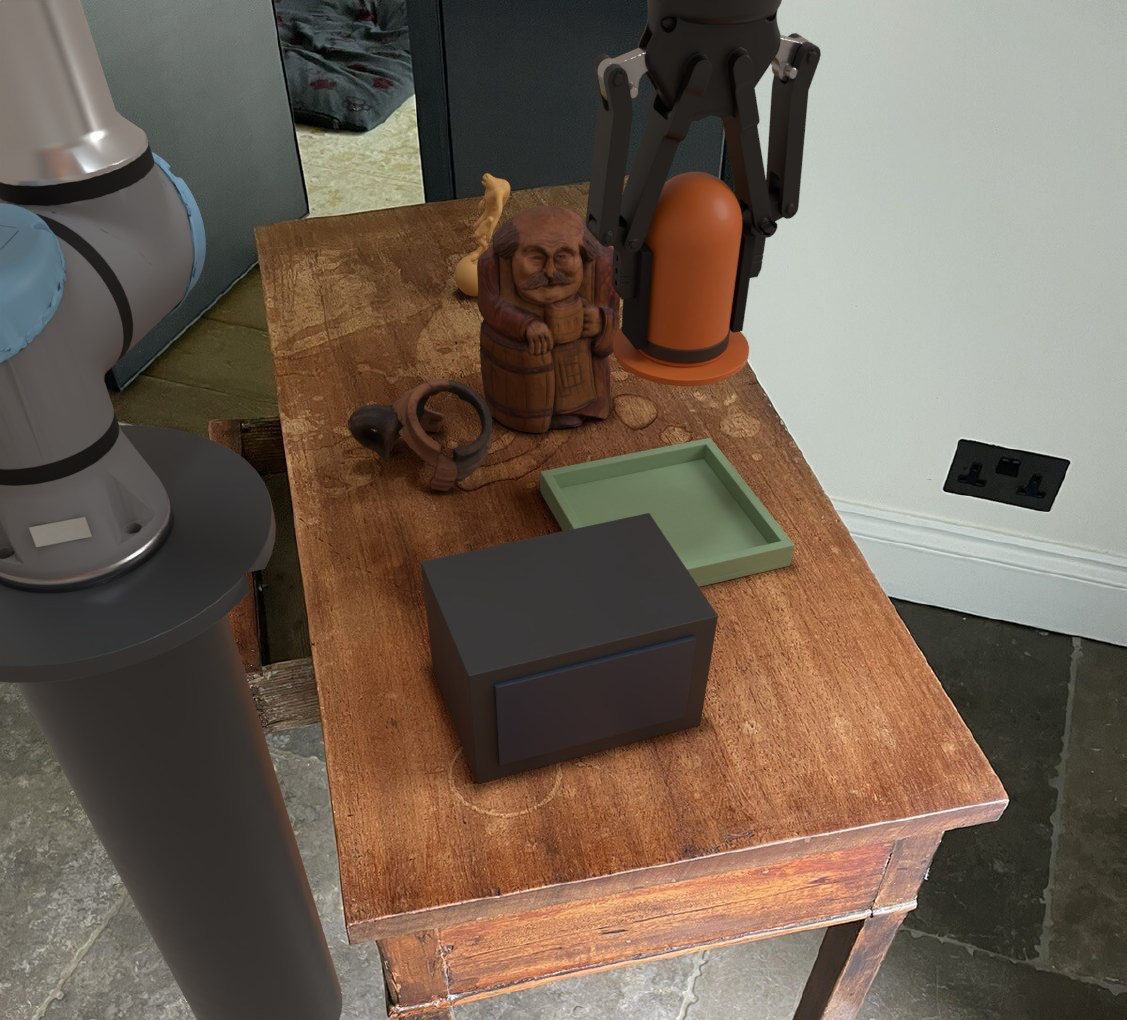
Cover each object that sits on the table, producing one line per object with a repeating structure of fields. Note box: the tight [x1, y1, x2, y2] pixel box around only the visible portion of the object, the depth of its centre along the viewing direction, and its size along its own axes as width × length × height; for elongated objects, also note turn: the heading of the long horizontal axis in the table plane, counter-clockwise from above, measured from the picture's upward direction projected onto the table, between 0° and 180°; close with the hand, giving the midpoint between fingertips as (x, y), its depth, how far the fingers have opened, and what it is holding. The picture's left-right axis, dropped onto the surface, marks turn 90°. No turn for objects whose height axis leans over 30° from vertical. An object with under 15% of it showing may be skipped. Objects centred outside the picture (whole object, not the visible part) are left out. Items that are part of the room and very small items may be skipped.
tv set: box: [420, 513, 719, 785], centre depth 71 cm, size 11×16×10 cm
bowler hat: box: [612, 171, 750, 387], centre depth 71 cm, size 10×10×12 cm
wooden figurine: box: [476, 204, 621, 434], centre depth 91 cm, size 12×6×18 cm, turn 105°
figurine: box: [454, 172, 511, 297], centre depth 109 cm, size 8×6×12 cm
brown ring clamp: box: [347, 378, 493, 492], centre depth 91 cm, size 12×10×8 cm
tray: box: [539, 437, 795, 588], centre depth 87 cm, size 16×16×2 cm
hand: (682, 330), depth 74 cm, fingers closed on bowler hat, 7 cm apart
